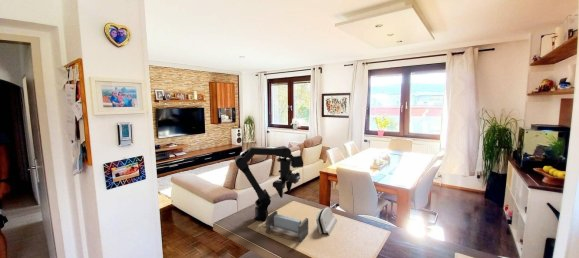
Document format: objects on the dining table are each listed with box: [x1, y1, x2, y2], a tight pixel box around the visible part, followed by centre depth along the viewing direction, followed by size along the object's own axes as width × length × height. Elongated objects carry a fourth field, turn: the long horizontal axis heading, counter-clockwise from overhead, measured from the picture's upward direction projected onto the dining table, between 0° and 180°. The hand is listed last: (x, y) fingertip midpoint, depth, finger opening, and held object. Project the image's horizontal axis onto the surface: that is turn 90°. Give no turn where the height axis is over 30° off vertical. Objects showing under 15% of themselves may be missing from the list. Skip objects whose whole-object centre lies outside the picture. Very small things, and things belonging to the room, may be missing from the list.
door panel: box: [274, 213, 302, 233], centre depth 121 cm, size 14×2×7 cm, turn 63°
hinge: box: [315, 206, 338, 236], centre depth 128 cm, size 17×5×10 cm, turn 155°
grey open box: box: [265, 210, 309, 244], centre depth 121 cm, size 19×9×8 cm, turn 63°
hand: (285, 194), depth 141 cm, fingers open, 9 cm apart
